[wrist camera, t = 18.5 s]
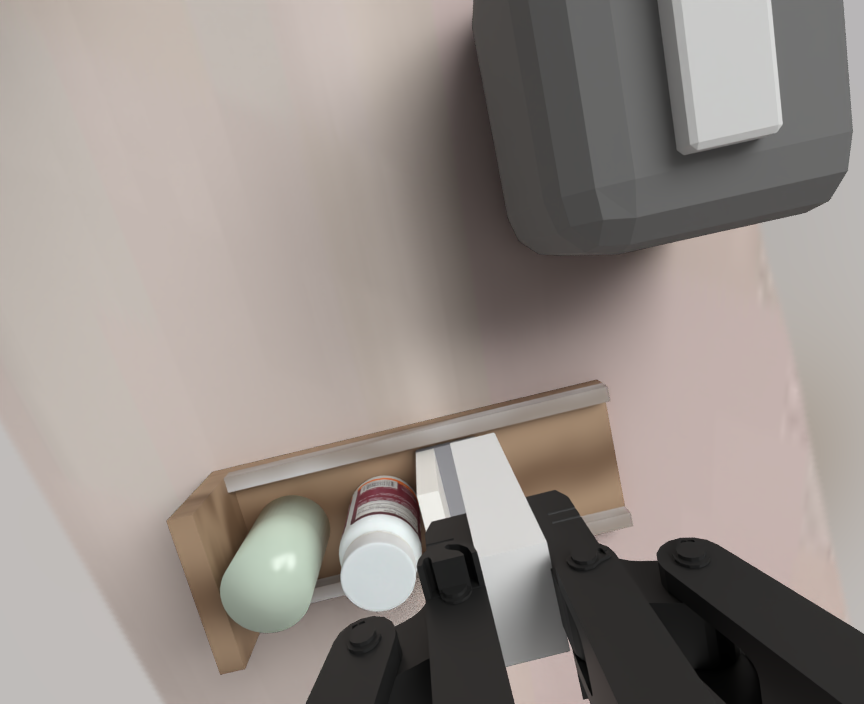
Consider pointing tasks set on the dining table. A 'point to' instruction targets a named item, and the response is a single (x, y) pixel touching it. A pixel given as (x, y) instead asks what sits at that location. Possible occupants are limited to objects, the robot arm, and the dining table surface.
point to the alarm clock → (661, 116)
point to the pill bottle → (380, 544)
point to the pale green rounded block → (277, 566)
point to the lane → (396, 456)
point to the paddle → (438, 483)
